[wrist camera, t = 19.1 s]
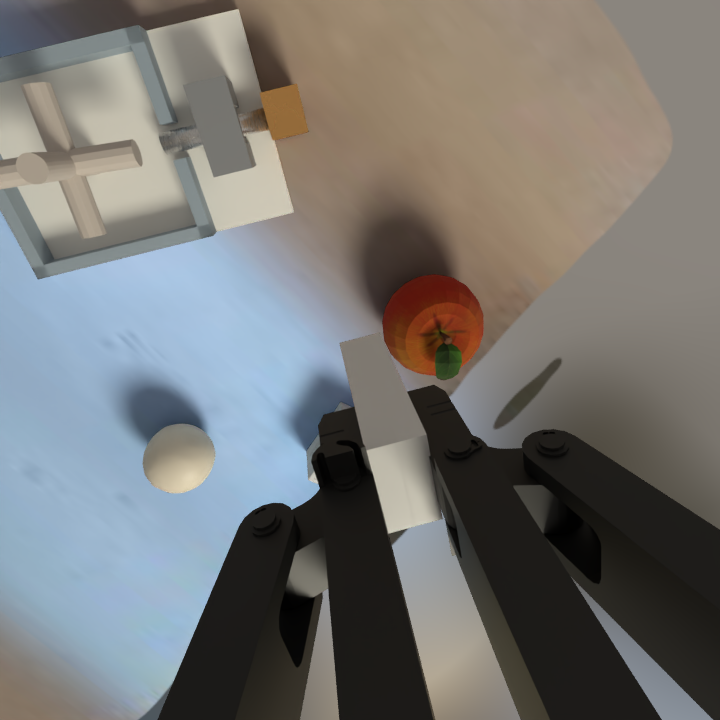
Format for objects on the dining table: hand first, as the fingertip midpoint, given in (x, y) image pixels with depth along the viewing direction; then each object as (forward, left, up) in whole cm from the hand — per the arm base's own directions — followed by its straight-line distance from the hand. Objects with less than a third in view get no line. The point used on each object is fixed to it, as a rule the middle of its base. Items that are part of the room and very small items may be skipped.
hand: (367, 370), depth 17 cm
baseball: (-20, -18, -30) cm, 40 cm away
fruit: (+8, -10, -30) cm, 32 cm away
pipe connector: (-17, +10, -28) cm, 34 cm away
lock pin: (-5, +10, -29) cm, 31 cm away
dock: (-13, +10, -29) cm, 34 cm away
